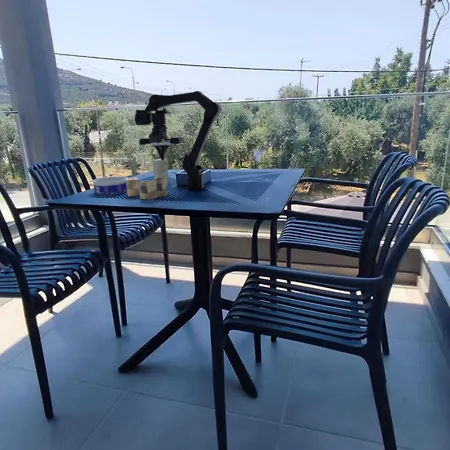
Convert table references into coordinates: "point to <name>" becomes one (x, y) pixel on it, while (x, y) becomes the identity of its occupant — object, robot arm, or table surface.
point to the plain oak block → (132, 186)
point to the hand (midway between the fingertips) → (162, 160)
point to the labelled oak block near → (148, 189)
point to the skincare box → (160, 169)
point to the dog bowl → (110, 185)
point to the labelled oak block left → (161, 186)
